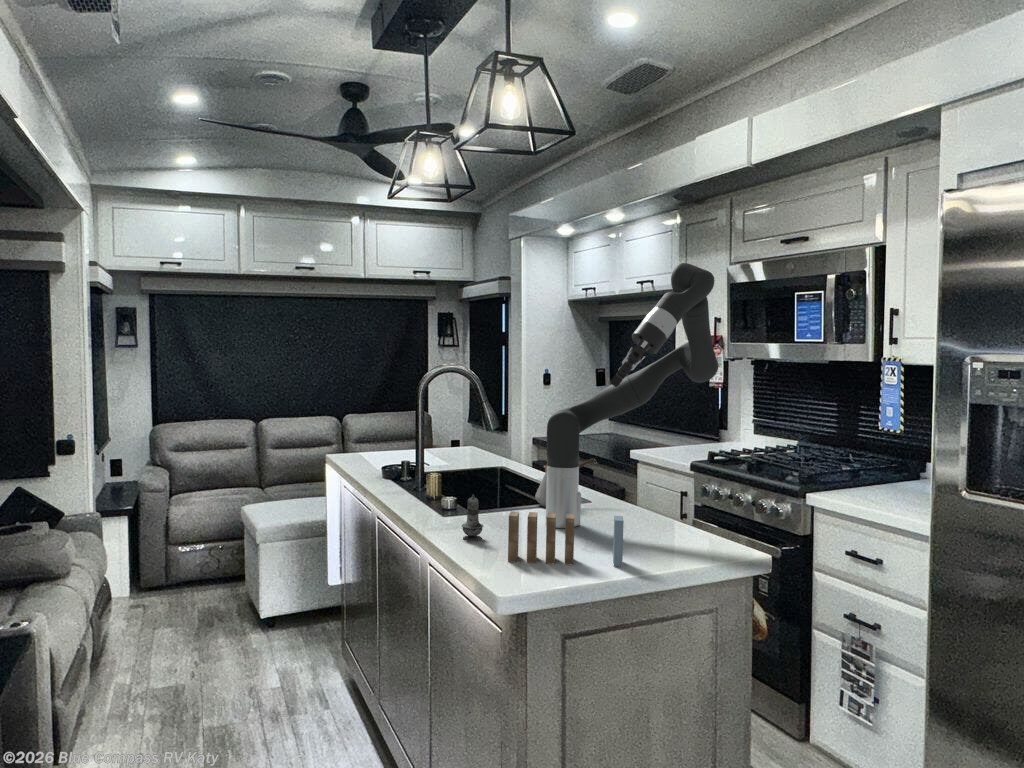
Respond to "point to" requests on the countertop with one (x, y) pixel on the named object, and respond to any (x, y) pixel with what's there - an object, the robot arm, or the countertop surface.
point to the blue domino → (618, 541)
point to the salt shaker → (472, 521)
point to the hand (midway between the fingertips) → (616, 381)
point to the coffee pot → (542, 488)
